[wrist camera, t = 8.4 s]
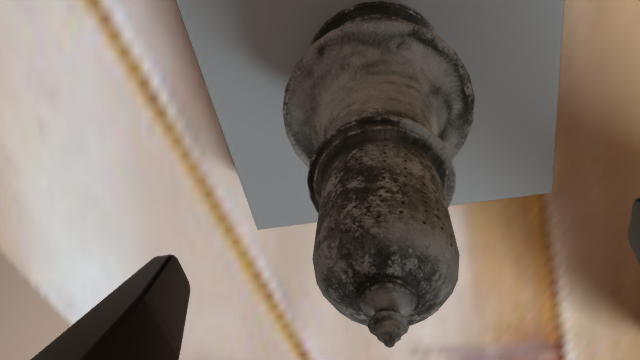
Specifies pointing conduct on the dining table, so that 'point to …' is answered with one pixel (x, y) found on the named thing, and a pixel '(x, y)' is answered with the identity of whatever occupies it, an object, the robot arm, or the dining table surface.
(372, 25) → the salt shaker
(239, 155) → the riser
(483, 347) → the dining table surface
